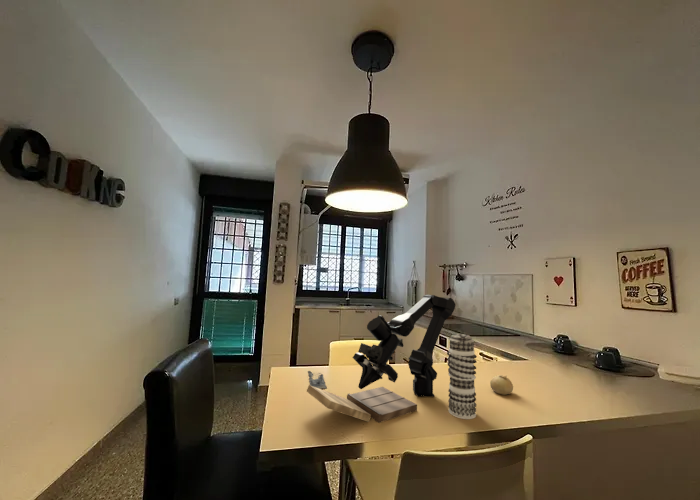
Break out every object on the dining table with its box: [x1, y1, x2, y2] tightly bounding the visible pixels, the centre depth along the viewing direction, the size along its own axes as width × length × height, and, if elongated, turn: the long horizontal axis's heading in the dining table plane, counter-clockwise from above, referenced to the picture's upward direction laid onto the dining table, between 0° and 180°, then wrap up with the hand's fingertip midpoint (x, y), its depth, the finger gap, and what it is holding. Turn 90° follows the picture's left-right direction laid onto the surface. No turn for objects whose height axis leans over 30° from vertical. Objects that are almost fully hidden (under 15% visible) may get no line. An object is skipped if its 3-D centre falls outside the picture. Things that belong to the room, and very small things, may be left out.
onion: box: [490, 374, 514, 396], centre depth 116 cm, size 8×8×7 cm
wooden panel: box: [346, 386, 418, 424], centre depth 102 cm, size 16×18×2 cm
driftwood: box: [307, 370, 328, 389], centre depth 125 cm, size 21×7×2 cm, turn 10°
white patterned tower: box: [446, 333, 477, 420], centre depth 99 cm, size 9×9×25 cm
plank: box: [306, 384, 371, 423], centre depth 93 cm, size 2×14×16 cm
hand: (359, 388), depth 98 cm, fingers closed
